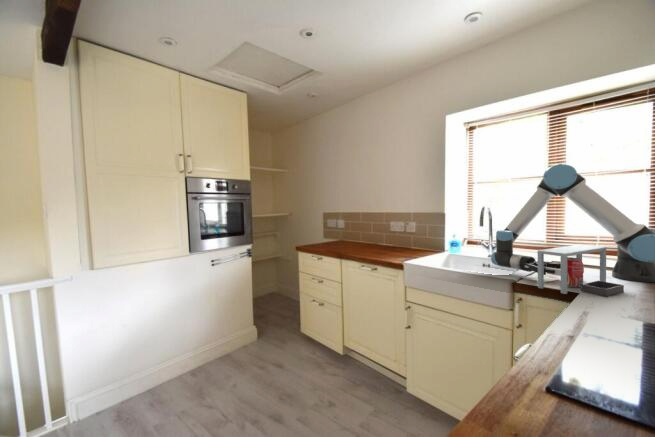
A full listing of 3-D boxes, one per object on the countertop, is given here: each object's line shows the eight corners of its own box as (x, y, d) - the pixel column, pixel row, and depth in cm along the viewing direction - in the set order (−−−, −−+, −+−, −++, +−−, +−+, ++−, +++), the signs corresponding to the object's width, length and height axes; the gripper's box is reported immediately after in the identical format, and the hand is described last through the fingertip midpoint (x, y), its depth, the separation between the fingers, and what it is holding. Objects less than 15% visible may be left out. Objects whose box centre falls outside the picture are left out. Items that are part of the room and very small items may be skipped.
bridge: (578, 278, 129) (578, 244, 128) (606, 284, 119) (606, 247, 119) (537, 287, 118) (537, 250, 117) (565, 294, 109) (564, 253, 108)
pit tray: (597, 287, 115) (597, 280, 115) (623, 292, 108) (623, 285, 108) (581, 291, 111) (581, 284, 111) (607, 297, 103) (607, 289, 103)
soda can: (562, 282, 124) (562, 256, 123) (584, 285, 118) (584, 258, 118) (560, 286, 119) (560, 258, 118) (582, 289, 114) (582, 260, 113)
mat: (535, 275, 137) (535, 274, 137) (558, 280, 128) (558, 279, 128) (521, 277, 133) (521, 277, 133) (544, 282, 124) (544, 282, 124)
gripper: (539, 267, 142) (590, 276, 122) (506, 273, 133) (556, 284, 113) (539, 253, 142) (590, 259, 122) (506, 258, 133) (555, 266, 113)
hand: (574, 271), depth 117 cm, fingers open, 13 cm apart
